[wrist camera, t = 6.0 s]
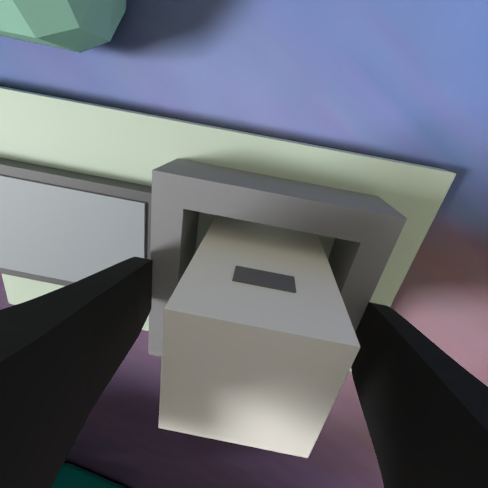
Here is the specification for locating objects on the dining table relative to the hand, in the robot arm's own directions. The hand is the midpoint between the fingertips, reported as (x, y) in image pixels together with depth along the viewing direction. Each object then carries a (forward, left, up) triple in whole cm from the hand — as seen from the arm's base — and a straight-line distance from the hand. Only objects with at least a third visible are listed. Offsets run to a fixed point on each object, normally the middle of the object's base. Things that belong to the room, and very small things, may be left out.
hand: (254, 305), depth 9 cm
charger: (0, 0, -3) cm, 3 cm away
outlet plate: (0, +3, -4) cm, 5 cm away
